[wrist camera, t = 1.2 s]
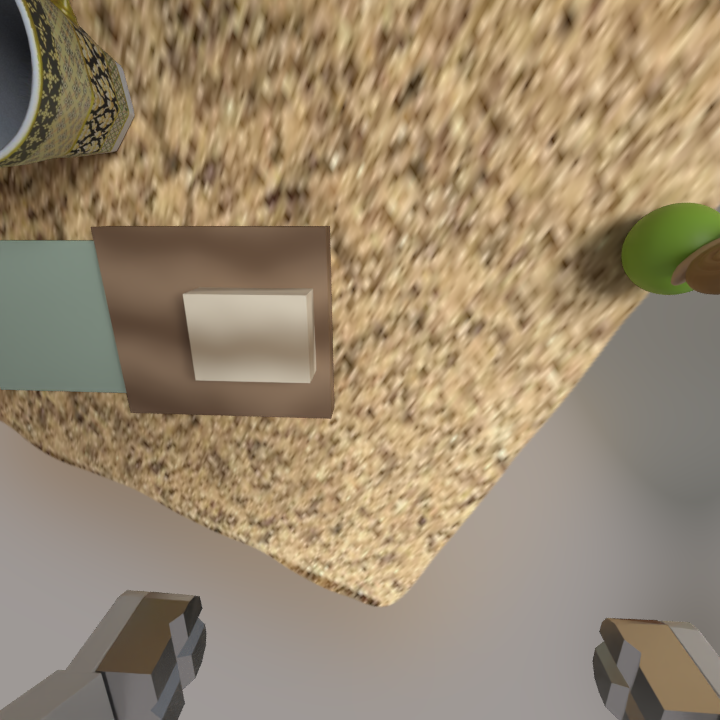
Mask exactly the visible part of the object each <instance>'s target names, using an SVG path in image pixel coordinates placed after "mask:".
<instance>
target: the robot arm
mask: <svg viewBox="0 0 720 720" xmlns="http://www.w3.org/2000/svg"><path fill="white" fill-rule="evenodd" d="M201 610H202V604H201V600H200V596H193V595H182V594H169V593H159V592H144V591H131V590H127V591H126V592H124V593H123V594H122V595H120V596H119V597H118V598H117V600H116V601H115V603H114V604H113V605H112V607H111V608H110V609H109V611H108V612H107V614H106V615H105V616H104V618H103V619H102V620H101V622H100V623H99V625H98V626H97V627H96V629H95V630H94V632H93V633H92V634H91V636H90V637H89V639H88V640H87V641H86V643H85V644H84V646H83V647H82V648H81V649H80V651H79V652H78V654H77V655H76V656H75V658H74V659H73V660H72V662H71V663H70V665H69V666H68V667H67V669H66V670H57V671H56V672H54V673H53V674H52V675H50V676H49V677H47V678H46V679H44V680H43V681H41V682H40V683H39V684H37V685H36V686H34V687H33V688H31V689H30V690H29V691H27V692H26V693H24V694H23V695H22V696H20V697H19V698H17V699H16V700H14V701H13V702H12V703H10V704H9V705H7V706H6V707H4V708H3V709H2V710H0V720H178V718H179V716H180V713H181V711H182V708H183V706H184V704H185V701H184V696H183V691H182V690H183V689H184V688H185V687H186V686H187V685H188V684H190V683H191V682H192V681H193V680H194V679H195V678H196V675H197V673H198V670H199V668H200V666H201V663H202V659H203V655H204V651H205V647H206V627H205V624H204V623H203V622H202V621H201V620H200V619H199V618H198V617H199V614H200V612H201ZM599 632H600V634H601V636H602V638H603V640H604V642H602V643H601V644H600V645H599V646H597V647H596V648H595V652H594V656H593V669H594V678H595V681H596V684H597V688H598V691H599V693H600V696H601V698H602V700H603V703H604V705H605V707H606V708H607V709H608V710H609V711H610V712H611V713H612V714H613V715H614V716H615V717H616V718H617V719H619V720H720V657H719V656H718V655H717V653H716V652H715V651H714V649H713V648H712V647H711V645H710V644H709V643H708V642H707V640H706V639H705V638H704V637H703V635H702V634H701V633H700V631H699V630H698V629H697V628H696V627H695V626H693V625H692V624H691V623H689V622H673V621H658V620H643V619H621V618H620V619H619V618H606V619H605V620H604V621H603V622H602V624H601V627H600V631H599Z"/></svg>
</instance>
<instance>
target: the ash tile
mask: <svg viewBox="0 0 720 720" xmlns="http://www.w3.org/2000/svg"><path fill="white" fill-rule="evenodd" d="M183 299H184V306H185V313H186V319H187V326H188V333H189V339H190V346H191V353H192V359H193V366H194V372H195V379H196V380H200V381H241V382H281V383H311V380H312V378H313V376H314V374H315V372H316V350H315V326H314V301H313V288H216V287H199V288H197V289H194V290H192V291H189V292H187V293H184V294H183Z"/></svg>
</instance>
